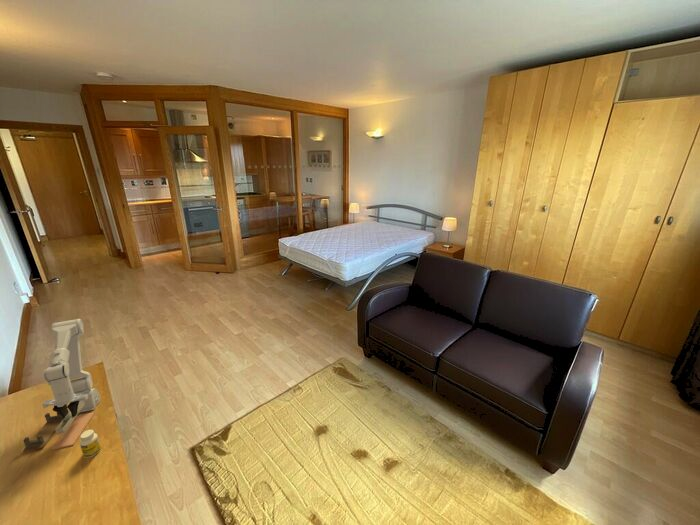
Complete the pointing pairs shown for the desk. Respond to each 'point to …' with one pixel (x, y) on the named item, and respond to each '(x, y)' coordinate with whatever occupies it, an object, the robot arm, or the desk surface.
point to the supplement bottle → (89, 443)
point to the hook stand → (43, 434)
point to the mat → (73, 431)
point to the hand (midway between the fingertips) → (70, 416)
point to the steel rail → (68, 419)
